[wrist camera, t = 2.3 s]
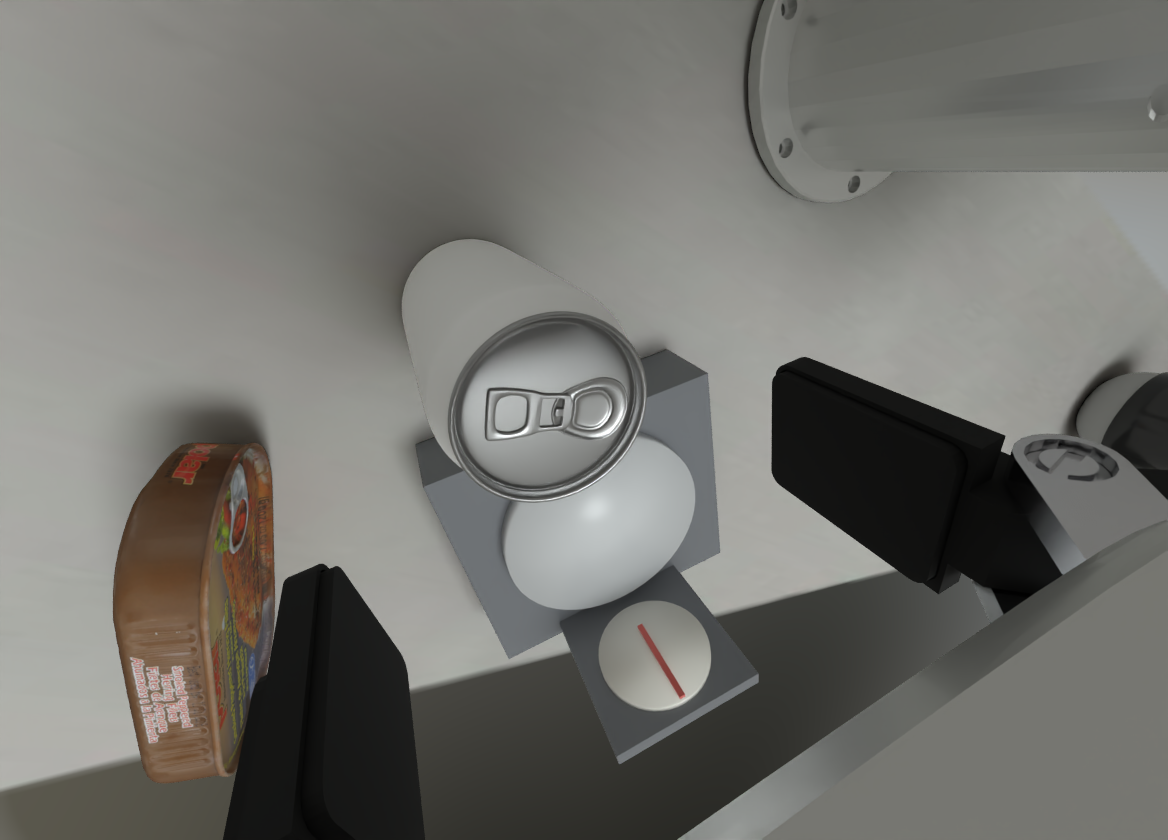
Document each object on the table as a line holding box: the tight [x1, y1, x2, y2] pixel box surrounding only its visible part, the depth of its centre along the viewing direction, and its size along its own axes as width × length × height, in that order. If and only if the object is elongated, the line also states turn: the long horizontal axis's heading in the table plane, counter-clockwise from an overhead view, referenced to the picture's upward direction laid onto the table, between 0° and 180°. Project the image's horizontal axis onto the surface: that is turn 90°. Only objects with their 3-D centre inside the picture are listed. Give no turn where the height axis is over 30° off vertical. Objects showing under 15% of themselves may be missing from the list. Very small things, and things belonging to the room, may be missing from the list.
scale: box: [416, 350, 758, 764], centre depth 25 cm, size 14×15×12 cm
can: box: [402, 239, 647, 503], centre depth 18 cm, size 6×6×12 cm
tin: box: [113, 443, 275, 783], centre depth 20 cm, size 15×3×8 cm, turn 165°
